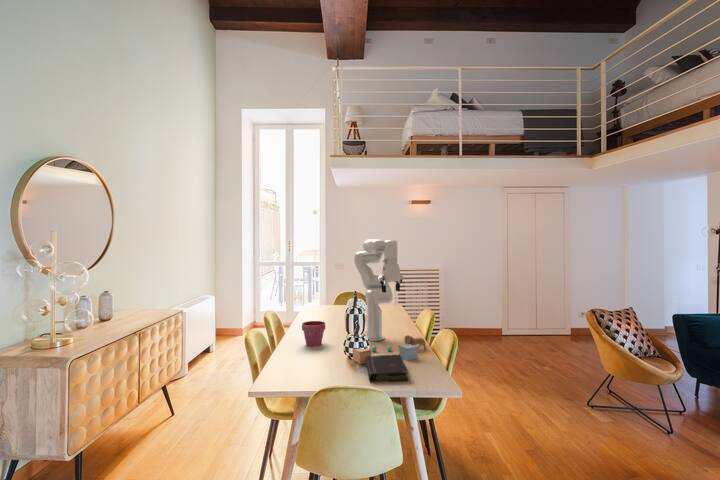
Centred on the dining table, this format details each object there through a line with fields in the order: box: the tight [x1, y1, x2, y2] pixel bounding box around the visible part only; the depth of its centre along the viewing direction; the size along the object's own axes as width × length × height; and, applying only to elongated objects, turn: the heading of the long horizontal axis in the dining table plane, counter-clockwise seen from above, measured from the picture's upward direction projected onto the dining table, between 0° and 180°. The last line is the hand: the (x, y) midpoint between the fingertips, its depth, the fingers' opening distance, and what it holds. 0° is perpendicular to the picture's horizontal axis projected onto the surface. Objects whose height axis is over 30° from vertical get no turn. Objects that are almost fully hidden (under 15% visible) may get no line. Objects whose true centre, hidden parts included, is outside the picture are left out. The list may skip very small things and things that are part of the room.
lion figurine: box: [403, 334, 427, 351], centre depth 223 cm, size 15×5×9 cm, turn 115°
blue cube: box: [398, 343, 419, 361], centre depth 208 cm, size 7×7×6 cm
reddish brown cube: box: [352, 347, 372, 365], centre depth 202 cm, size 7×7×6 cm
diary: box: [365, 354, 410, 383], centre depth 186 cm, size 19×25×5 cm
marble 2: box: [386, 345, 393, 352], centre depth 220 cm, size 3×3×3 cm
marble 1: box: [370, 345, 378, 353], centre depth 219 cm, size 3×3×3 cm
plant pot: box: [301, 320, 326, 347], centre depth 235 cm, size 14×14×13 cm
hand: (390, 291), depth 223 cm, fingers open, 9 cm apart
